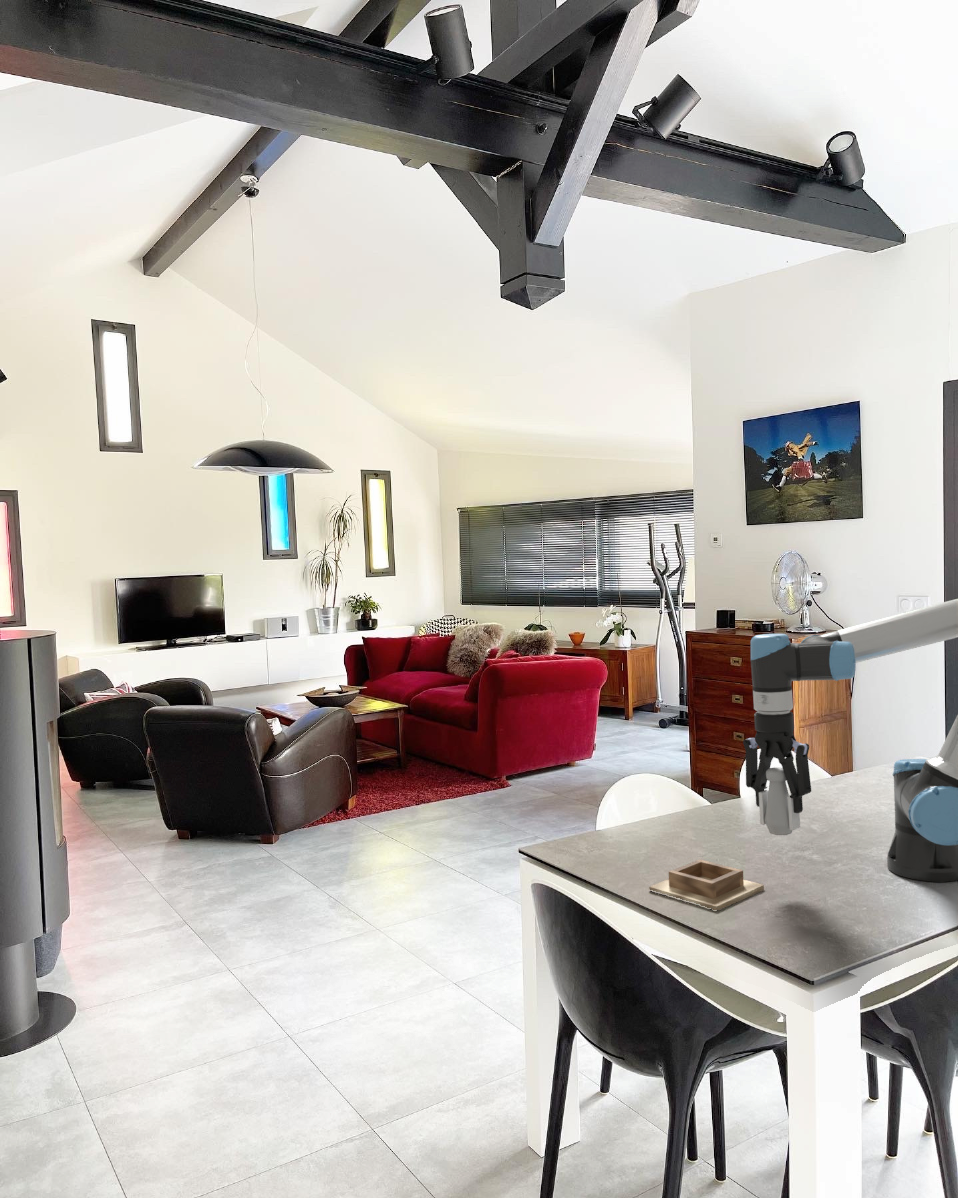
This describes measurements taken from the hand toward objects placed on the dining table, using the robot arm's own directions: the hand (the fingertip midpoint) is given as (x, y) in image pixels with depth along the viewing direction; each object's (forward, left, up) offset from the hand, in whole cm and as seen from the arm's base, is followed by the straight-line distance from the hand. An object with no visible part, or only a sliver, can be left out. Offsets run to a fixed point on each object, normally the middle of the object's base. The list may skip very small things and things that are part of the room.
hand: (780, 825), depth 187 cm
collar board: (+9, +12, -12) cm, 20 cm away
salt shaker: (0, 0, -2) cm, 2 cm away
